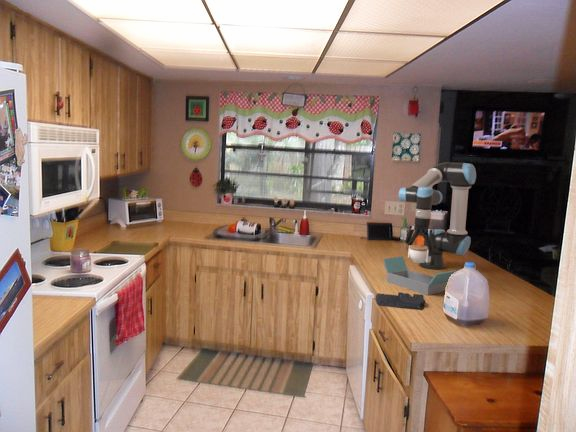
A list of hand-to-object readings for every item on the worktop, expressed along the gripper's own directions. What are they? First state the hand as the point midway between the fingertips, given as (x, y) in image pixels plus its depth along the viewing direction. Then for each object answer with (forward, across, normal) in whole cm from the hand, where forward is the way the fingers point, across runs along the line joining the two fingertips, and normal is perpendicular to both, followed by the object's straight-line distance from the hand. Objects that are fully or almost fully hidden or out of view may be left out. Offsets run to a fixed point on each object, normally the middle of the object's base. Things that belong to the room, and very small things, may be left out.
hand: (418, 259), depth 241 cm
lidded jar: (+1, 0, 0) cm, 1 cm away
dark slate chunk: (+15, +14, -31) cm, 37 cm away
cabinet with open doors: (+14, 0, 0) cm, 14 cm away
